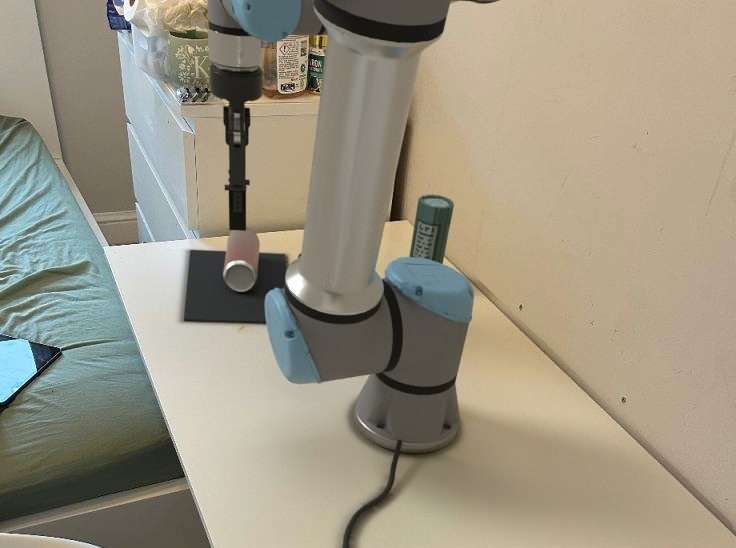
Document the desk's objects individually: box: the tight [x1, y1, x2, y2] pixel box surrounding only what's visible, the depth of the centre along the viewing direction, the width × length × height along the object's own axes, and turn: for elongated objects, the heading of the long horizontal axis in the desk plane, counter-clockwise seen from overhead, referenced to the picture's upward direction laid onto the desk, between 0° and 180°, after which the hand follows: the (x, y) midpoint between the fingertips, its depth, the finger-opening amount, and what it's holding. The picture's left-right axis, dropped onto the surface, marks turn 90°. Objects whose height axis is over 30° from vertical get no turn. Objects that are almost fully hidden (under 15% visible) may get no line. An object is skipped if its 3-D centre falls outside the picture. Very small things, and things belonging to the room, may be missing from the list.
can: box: [408, 193, 455, 264], centre depth 136 cm, size 6×6×15 cm
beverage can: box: [223, 226, 260, 292], centre depth 133 cm, size 6×6×15 cm
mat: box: [183, 249, 288, 324], centre depth 132 cm, size 26×18×1 cm
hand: (237, 228), depth 120 cm, fingers closed
